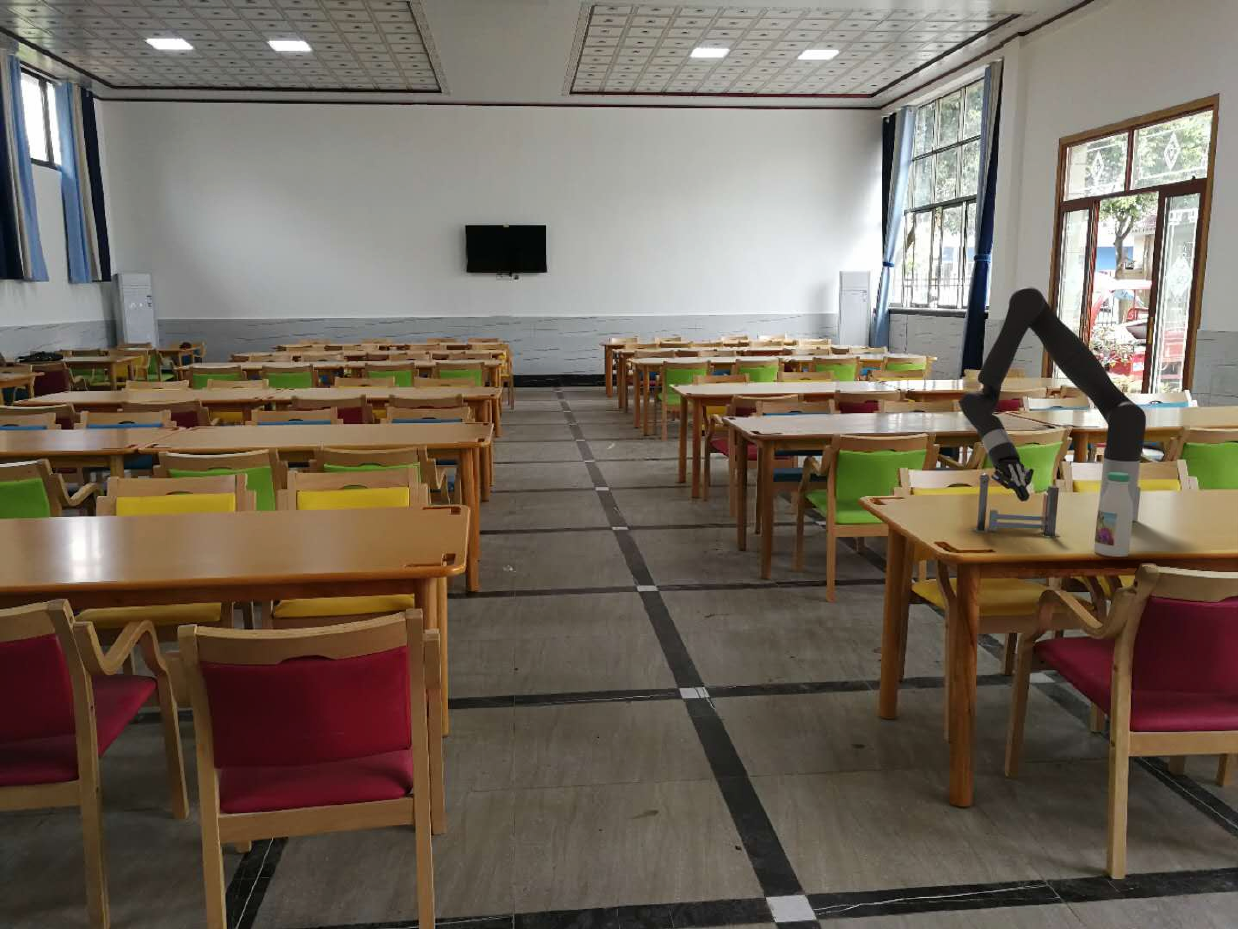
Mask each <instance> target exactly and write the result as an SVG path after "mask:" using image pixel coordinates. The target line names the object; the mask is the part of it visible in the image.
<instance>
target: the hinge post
mask: <svg viewBox="0 0 1238 929" xmlns="http://www.w3.org/2000/svg"><path fill="white" fill-rule="evenodd" d="M978 478H979V482H980V483H979V495H978V496H979V497H978V506H977V507H978V509H977V510H978V511H977V521H976V527H974V528H972V531H973V532H975V533H981V532H987V533H989V531H990V529H989V528H986V517H987V505H988V494H989V493H988V491H989V482H990V480H991V479H990V478H991V476H990V475H989V474H987V473H982V474H980V476H979V477H978ZM981 534H982V533H981Z"/></svg>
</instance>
